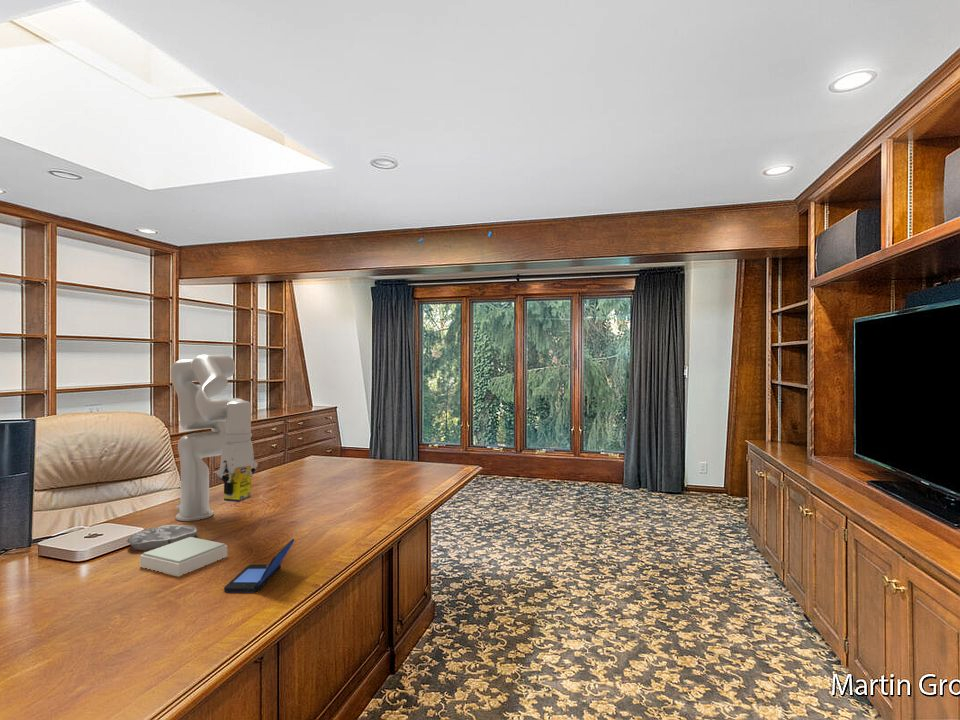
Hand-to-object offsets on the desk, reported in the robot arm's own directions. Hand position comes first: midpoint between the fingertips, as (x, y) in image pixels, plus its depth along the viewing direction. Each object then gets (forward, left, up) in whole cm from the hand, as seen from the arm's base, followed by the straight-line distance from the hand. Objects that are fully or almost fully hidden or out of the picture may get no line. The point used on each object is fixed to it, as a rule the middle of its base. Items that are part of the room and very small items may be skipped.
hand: (237, 491), depth 172 cm
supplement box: (0, 0, -3) cm, 3 cm away
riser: (+2, -20, -16) cm, 26 cm away
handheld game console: (+32, -21, -17) cm, 41 cm away
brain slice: (-21, -11, -17) cm, 29 cm away
